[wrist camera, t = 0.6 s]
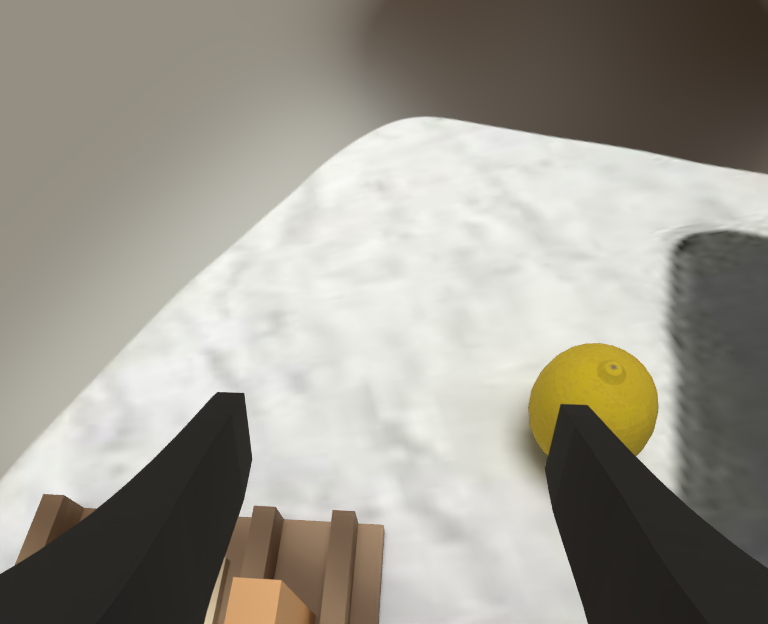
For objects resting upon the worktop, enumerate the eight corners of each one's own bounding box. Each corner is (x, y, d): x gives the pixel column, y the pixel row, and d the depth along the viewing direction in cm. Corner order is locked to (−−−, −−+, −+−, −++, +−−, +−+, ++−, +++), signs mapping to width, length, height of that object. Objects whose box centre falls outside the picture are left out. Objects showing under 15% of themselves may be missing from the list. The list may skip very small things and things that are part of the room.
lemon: (635, 418, 31) (695, 338, 24) (611, 513, 28) (671, 452, 22) (535, 380, 32) (565, 296, 26) (503, 467, 30) (528, 397, 23)
